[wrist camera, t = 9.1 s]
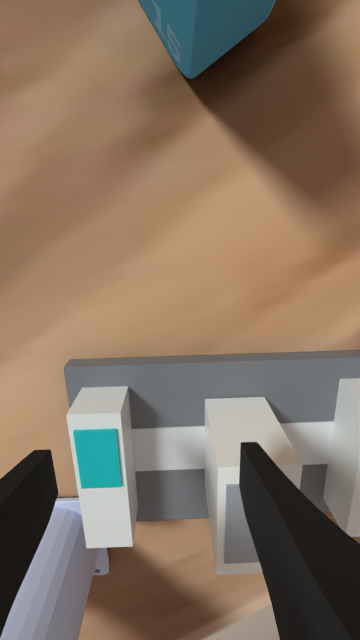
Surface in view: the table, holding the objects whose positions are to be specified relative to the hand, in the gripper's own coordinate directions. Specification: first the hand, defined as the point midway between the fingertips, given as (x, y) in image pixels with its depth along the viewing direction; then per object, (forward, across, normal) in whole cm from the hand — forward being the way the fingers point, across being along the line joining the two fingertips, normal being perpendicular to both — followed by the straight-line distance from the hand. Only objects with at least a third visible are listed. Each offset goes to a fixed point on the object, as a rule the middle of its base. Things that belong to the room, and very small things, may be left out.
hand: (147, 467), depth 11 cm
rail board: (+9, -5, +6) cm, 12 cm away
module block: (+8, -5, +6) cm, 11 cm away
